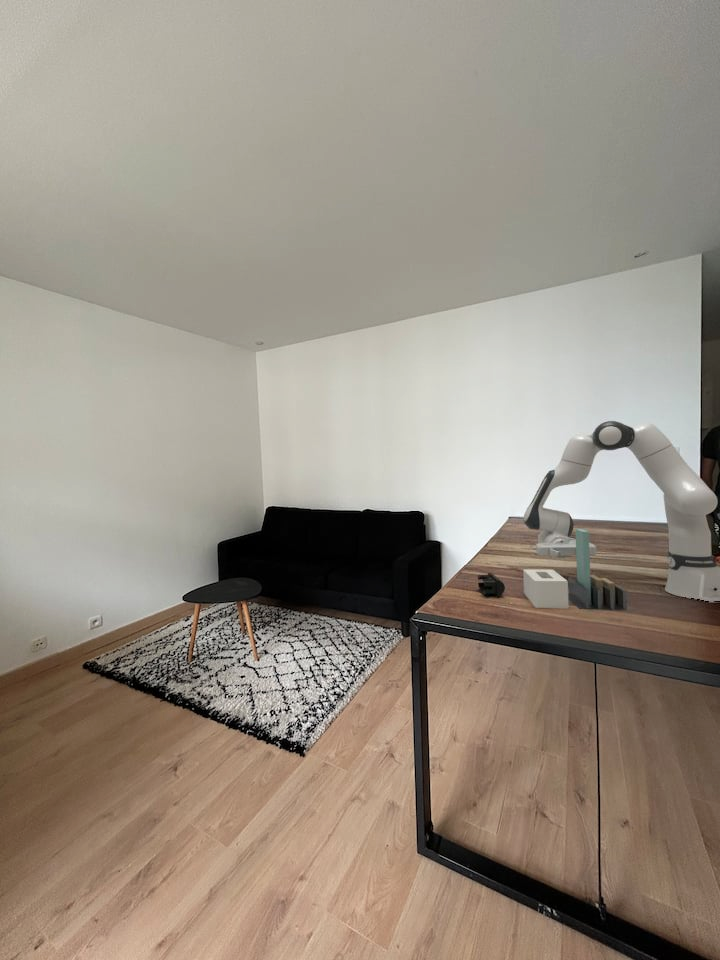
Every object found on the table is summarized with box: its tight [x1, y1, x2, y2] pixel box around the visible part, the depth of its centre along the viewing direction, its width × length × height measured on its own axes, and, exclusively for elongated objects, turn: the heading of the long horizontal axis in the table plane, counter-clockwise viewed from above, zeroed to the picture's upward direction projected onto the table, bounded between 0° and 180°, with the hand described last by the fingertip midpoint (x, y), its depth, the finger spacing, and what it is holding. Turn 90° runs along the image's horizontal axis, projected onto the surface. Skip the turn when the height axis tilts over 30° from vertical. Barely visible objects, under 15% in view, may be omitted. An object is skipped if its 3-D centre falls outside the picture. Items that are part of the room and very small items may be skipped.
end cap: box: [477, 572, 506, 598], centre depth 138 cm, size 10×7×7 cm
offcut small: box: [600, 577, 616, 605], centre depth 122 cm, size 2×6×7 cm, turn 170°
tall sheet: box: [574, 528, 591, 604], centre depth 123 cm, size 2×6×24 cm, turn 170°
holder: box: [522, 569, 570, 609], centre depth 125 cm, size 10×14×10 cm
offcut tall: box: [590, 574, 603, 605], centre depth 122 cm, size 2×6×8 cm, turn 170°
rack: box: [567, 576, 635, 611], centre depth 122 cm, size 16×15×7 cm
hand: (572, 554), depth 131 cm, fingers open, 8 cm apart
